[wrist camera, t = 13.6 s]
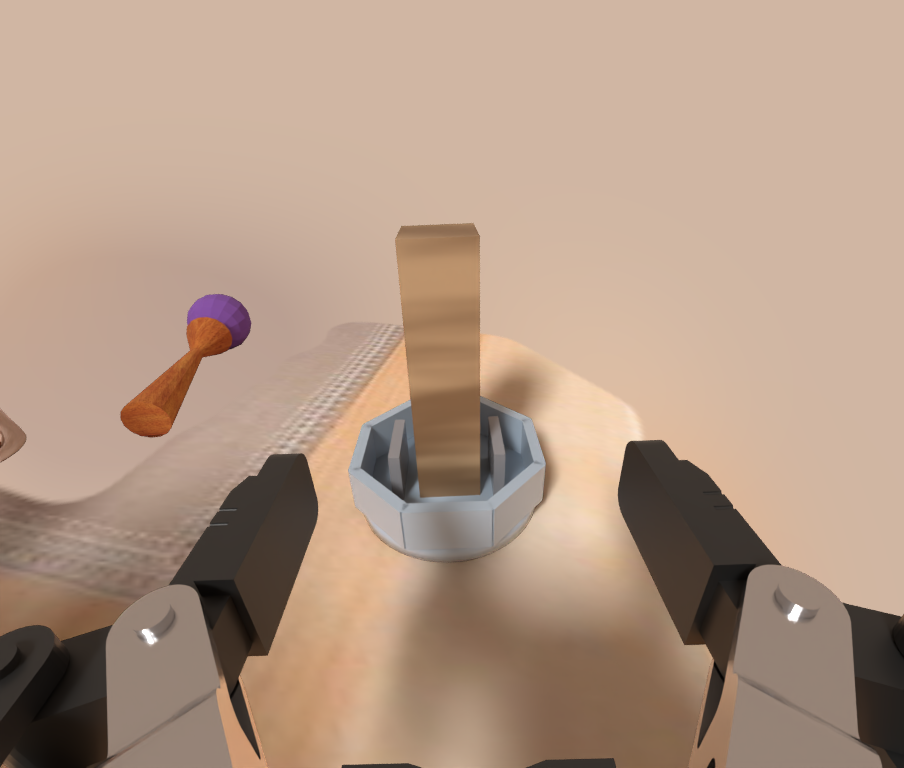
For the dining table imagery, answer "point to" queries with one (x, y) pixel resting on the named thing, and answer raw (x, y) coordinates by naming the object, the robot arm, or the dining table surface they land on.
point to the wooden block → (443, 353)
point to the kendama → (188, 363)
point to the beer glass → (9, 437)
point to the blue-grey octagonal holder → (453, 517)
